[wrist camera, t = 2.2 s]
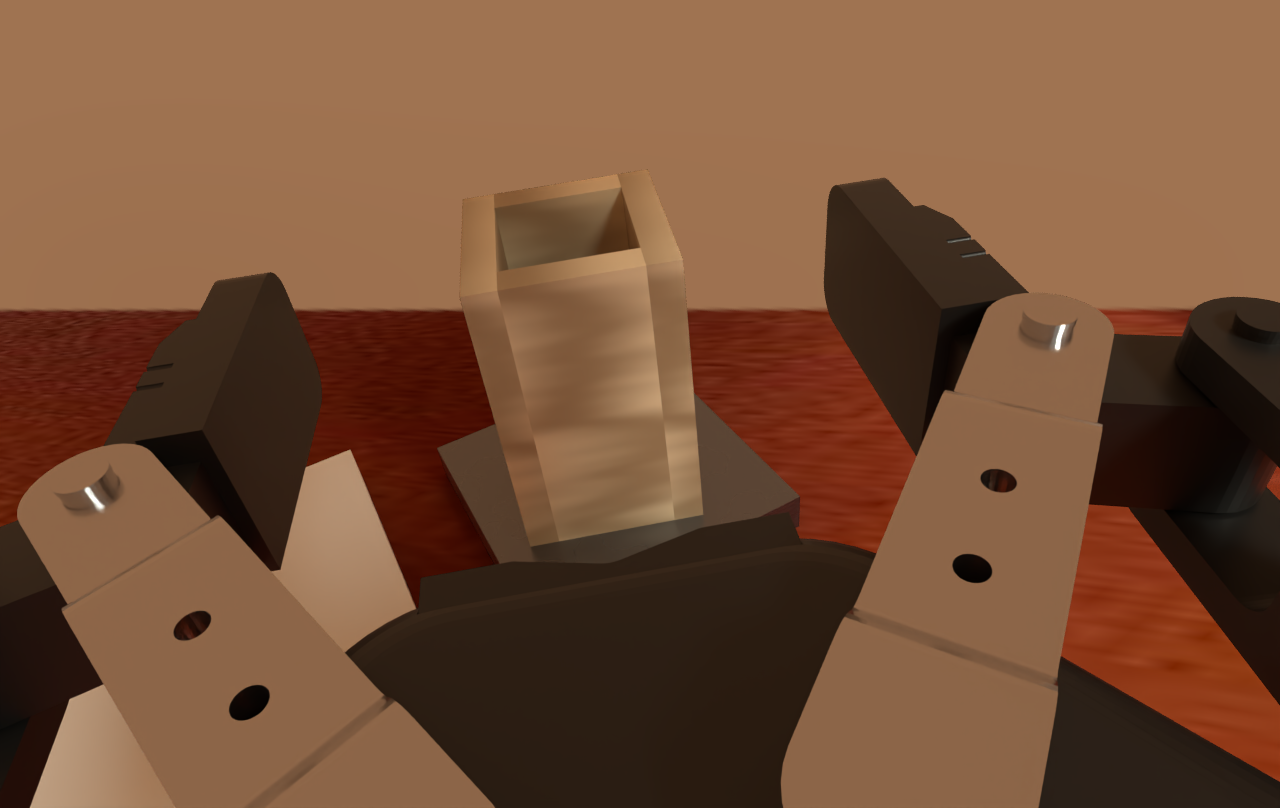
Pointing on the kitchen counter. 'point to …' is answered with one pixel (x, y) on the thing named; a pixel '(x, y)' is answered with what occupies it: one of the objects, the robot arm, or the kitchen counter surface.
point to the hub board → (318, 579)
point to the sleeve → (584, 353)
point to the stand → (728, 494)
